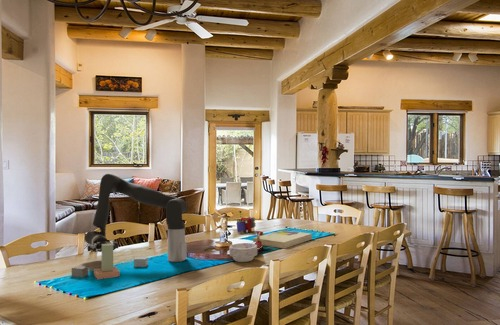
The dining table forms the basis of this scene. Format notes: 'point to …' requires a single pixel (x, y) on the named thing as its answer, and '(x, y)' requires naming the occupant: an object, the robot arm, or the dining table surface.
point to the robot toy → (245, 224)
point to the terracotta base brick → (106, 273)
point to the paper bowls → (243, 251)
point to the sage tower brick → (107, 257)
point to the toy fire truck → (259, 239)
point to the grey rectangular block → (79, 271)
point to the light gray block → (140, 261)
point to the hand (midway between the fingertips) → (104, 248)
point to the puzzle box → (283, 239)
